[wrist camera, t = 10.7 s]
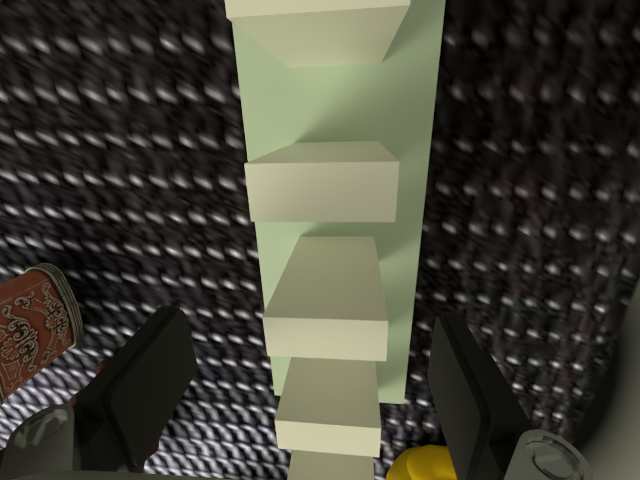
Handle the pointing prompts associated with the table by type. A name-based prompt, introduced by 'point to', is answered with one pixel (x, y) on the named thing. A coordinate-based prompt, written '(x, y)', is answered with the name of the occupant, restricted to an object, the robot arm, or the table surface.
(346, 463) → the domino
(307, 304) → the domino
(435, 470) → the duckling
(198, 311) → the table surface
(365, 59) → the domino
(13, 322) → the lighter
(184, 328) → the robot arm
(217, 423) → the table surface
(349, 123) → the board
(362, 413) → the domino
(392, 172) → the domino
